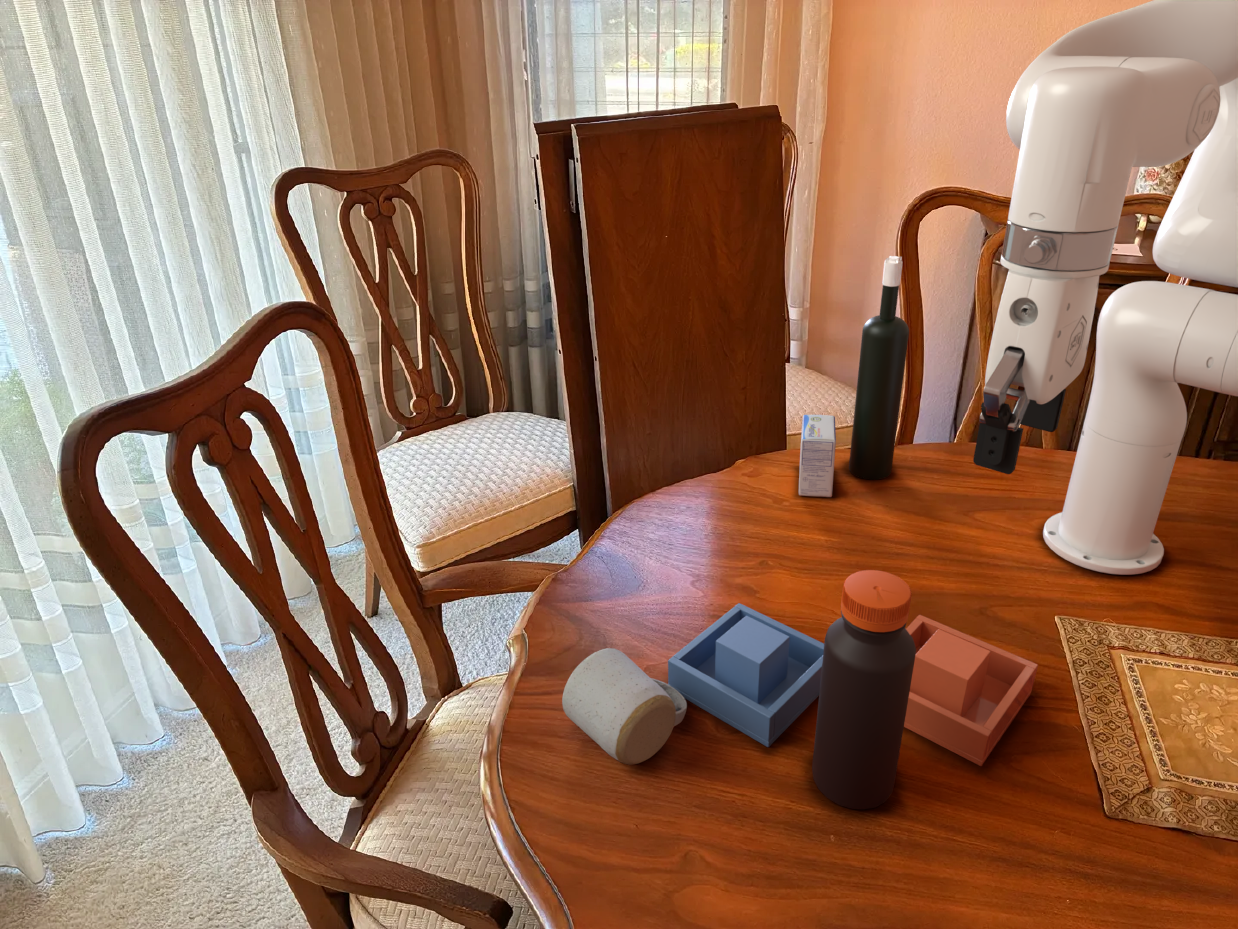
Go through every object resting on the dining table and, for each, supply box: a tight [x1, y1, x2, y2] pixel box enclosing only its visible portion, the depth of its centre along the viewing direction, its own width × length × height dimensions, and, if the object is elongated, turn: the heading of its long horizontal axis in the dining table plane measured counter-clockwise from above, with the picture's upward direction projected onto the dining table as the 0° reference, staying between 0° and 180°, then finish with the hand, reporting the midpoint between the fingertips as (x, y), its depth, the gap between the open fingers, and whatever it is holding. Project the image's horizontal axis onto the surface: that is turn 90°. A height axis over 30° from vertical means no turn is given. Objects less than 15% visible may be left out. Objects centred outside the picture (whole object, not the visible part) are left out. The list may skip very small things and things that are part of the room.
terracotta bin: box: [904, 614, 1039, 767], centre depth 80 cm, size 12×12×4 cm
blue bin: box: [667, 602, 824, 748], centre depth 83 cm, size 12×12×4 cm
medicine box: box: [798, 414, 837, 498], centre depth 115 cm, size 8×4×9 cm, turn 168°
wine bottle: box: [848, 255, 910, 481], centre depth 113 cm, size 6×6×30 cm
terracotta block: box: [910, 629, 990, 717], centre depth 79 cm, size 5×5×5 cm
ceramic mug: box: [561, 647, 688, 766], centre depth 77 cm, size 11×8×8 cm
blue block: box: [715, 616, 790, 704], centre depth 82 cm, size 5×5×5 cm
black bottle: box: [811, 569, 916, 810], centre depth 68 cm, size 7×7×20 cm
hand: (1015, 446), depth 73 cm, fingers open, 9 cm apart
